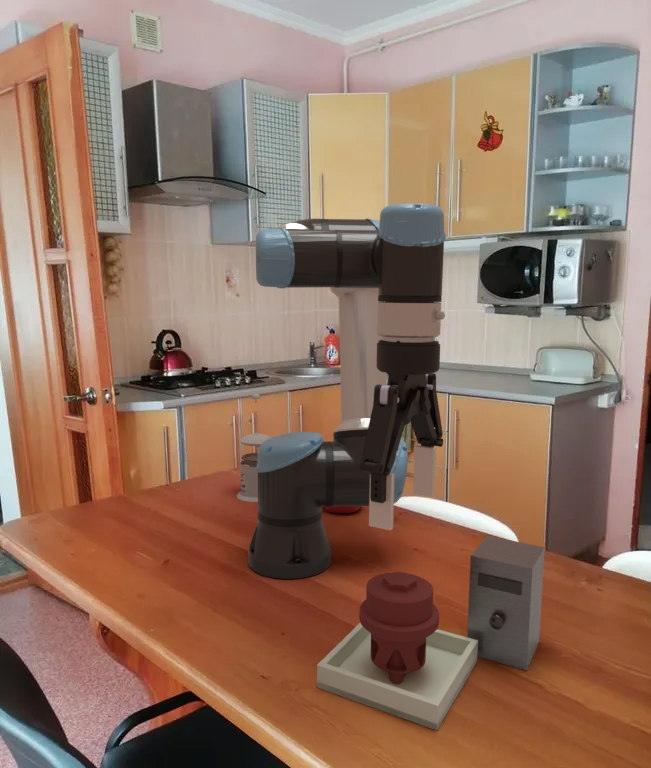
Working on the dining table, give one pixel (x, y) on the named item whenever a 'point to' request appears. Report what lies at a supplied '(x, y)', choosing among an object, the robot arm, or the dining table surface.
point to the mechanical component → (399, 622)
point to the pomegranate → (342, 509)
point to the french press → (250, 465)
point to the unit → (506, 600)
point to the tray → (418, 690)
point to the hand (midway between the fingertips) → (403, 509)
